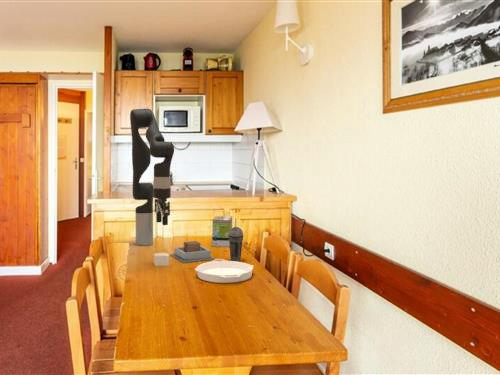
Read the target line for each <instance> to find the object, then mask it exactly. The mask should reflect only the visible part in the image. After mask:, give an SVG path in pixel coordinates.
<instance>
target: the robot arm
mask: <svg viewBox="0 0 500 375" xmlns="http://www.w3.org/2000/svg"><path fill="white" fill-rule="evenodd" d="M129 120H130V130H131V132H130V133H131V160H132V197H133V200H136V201H146V202H145V203H143V204H141V205H139V206H136V207H135V210H134V211H135V245H136V246H152V245H154V213H155V214H156V218H155V219H156V223H161V224H162V226H168V224H169V223H168V222H169V216H170V215H171V208H170V207H171V205H170V204H171V203H170V201H168V200H167V199H171V198H172V197H171V194H172V193H171V190H172V188H171V185H172V184H171V164H172V161H173V158H174V157H173V156H174V152H175V146H174V144H173V143H172V142H171V141H165V137H164V136H163V134H162V132H161V131H160V129H159V125H158V122H157V119H156V117H155V113H154V112H153V110H152V109H151V108H137V109H131V111H130V115H129ZM144 128H145V129H146V131H145V138H146V140H147V143H148V144H149V146H148V144H147V143H146V142H145V141H144V140H143V138H142V136H141V134H140V131H139V130H140V129H144ZM151 156H152V157H153V158H157V159H158V158H160V159H161V158H162V159H163V160H162V161H161V162H158V163H155V164H154V165H153V180H152V182H140V180H141V178H142V177H143V175H144V174H145V172H146V171H147V169H148V168H149V167H150V165H151V161H152V160H151V158H152V157H151ZM153 206H154V207H153Z"/></svg>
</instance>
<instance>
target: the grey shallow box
mask: <svg viewBox="0 0 500 375" xmlns="http://www.w3.org/2000/svg"><path fill="white" fill-rule="evenodd" d="M211 254H212V253H211V250H210V249H209V248H206V247H204V246H202V245H200V251H197V252H187V253H185V252H184V246H177V247H174V253H171V254H169V256H171V257H172V258H174V259H175V260H177V261H178V262H180V263H181V264H188V263H189V264H192V263H198V262H199V261H200V262H207V261H209V262H210V261H213V260H215V259H216V258H215V257H213V256H212V255H211Z"/></svg>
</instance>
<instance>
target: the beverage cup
mask: <svg viewBox="0 0 500 375" xmlns="http://www.w3.org/2000/svg"><path fill="white" fill-rule="evenodd" d="M234 220H235V222H234V223H235V224H234V227H233V226H232V229H231V230H230V231H229V234H228V237H229V244H230V247H229V255H230V256H229V257H230V261H236V262H241V257H242V249H243V241H244V236H245V235H244V231H243V230H242V229H241V228H240V227H238V226H237V218H236V217H235V218H234Z"/></svg>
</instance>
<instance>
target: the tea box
mask: <svg viewBox="0 0 500 375" xmlns="http://www.w3.org/2000/svg"><path fill="white" fill-rule="evenodd" d="M232 228H233V216H231V215H229V216H228V215H227V216H226V215H215V216H214V217H213V218H212V233H211V234H212V235H211V246H212V247H217V248H219V247H220V248H222V247H223V248H225V247H226V248H230V244H229V237H228V234H229V231H230V230H231V229H232Z"/></svg>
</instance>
